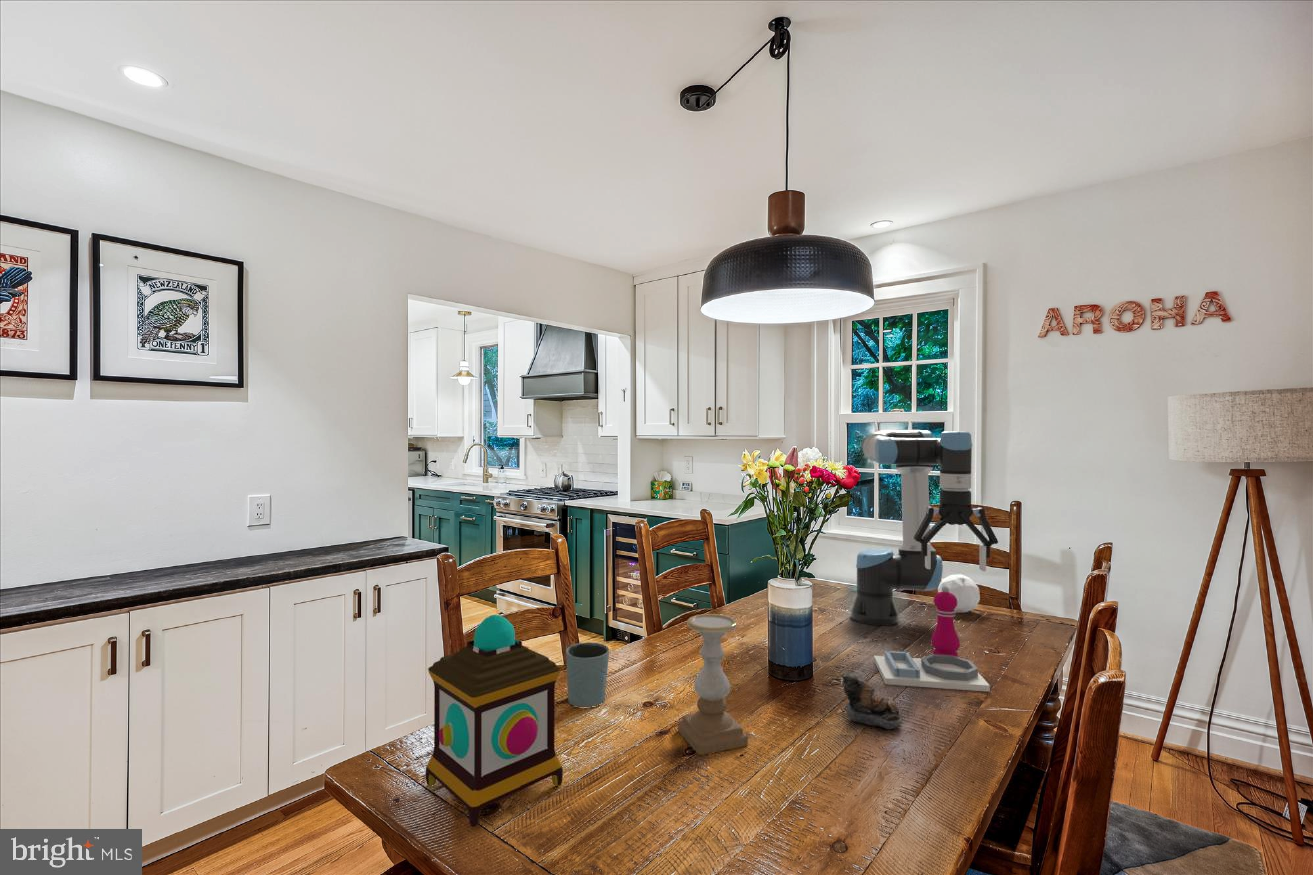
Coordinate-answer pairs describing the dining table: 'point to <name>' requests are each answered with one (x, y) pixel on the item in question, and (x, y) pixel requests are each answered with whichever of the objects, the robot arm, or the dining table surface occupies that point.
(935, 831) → the dining table surface
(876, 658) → the holder board
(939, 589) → the geodesic sphere
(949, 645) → the pepper mill
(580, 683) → the blue grey cup
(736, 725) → the candle holder
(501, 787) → the decorative lantern
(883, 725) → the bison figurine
